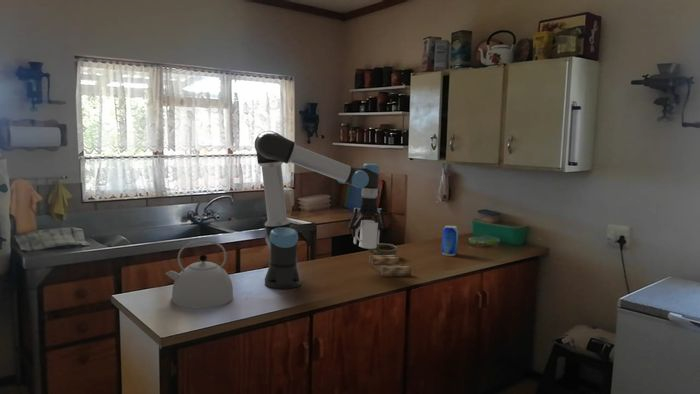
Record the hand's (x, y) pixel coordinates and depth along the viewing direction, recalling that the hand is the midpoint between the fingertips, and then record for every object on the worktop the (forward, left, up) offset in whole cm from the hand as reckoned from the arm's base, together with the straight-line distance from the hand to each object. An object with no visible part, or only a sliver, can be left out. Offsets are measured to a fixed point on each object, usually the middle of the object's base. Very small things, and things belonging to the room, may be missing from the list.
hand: (366, 243), depth 239 cm
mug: (-1, 0, -2) cm, 2 cm away
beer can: (+57, +29, -14) cm, 66 cm away
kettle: (-74, -28, -14) cm, 80 cm away
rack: (+13, +3, -14) cm, 19 cm away
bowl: (+16, +25, -14) cm, 33 cm away
